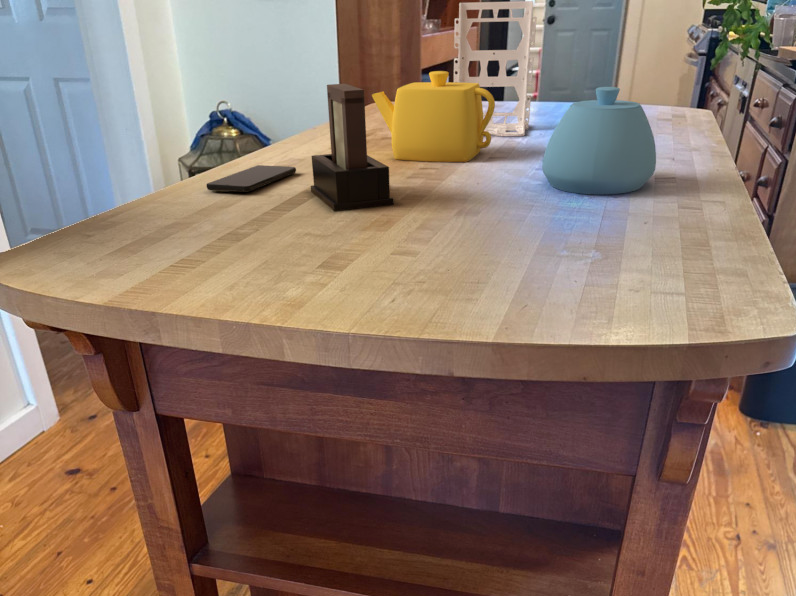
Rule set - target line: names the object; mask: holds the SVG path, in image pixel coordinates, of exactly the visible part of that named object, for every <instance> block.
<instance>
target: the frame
mask: <svg viewBox="0 0 796 596" xmlns="http://www.w3.org/2000/svg"><path fill="white" fill-rule="evenodd" d="M326 93H327V94H326V95H327V108H328V110H327V111H328V120H329V121H328V123H329V134H330V135H329V138H330V152H331V153H330V154H332V162H334V163H335V164H337V165H339V166H340V167H342V168H343V169H345V170H346V169H355V168H366V167H367V155H368V148H367V145H368V144H367V126H366V125H367V124H366V101H365V100H366V99H365V89H362V88H360V87H356V86H353V85H350V84H347V83H334V84H333V83H332V84H327V85H326Z"/></svg>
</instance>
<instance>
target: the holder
mask: <svg viewBox="0 0 796 596" xmlns="http://www.w3.org/2000/svg"><path fill="white" fill-rule="evenodd" d="M311 167H312V180H313V184H312V185H310V193H312V194H313V195H314V196H315V197H317V198H318V199H319V200H320V201H322V202H323V203H324V204H325V205H327V206H328V207H329V208H330V209H331V210H332V211H334V212H337V211H347V210H355V209H356V210H357V209H365V208H374V207H375V208H376V207H382V206H383V207H384V206H392V205H394V204H395V198H394V197H393V196H391V192H390V191H391V188H390V186H391V185H390V167H389V166H388V165H386V164H384V163H382V162H381V161H379V160H377V159H375V158H373V157H372V156H370V155H368V154H367V167H366V168H355V169H346V170H345V169H343V168H342V167H340V166H339V165H337V164H335V163H334V162H332V154H331V153H328V154H327V153H325V154H314V155H311Z"/></svg>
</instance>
